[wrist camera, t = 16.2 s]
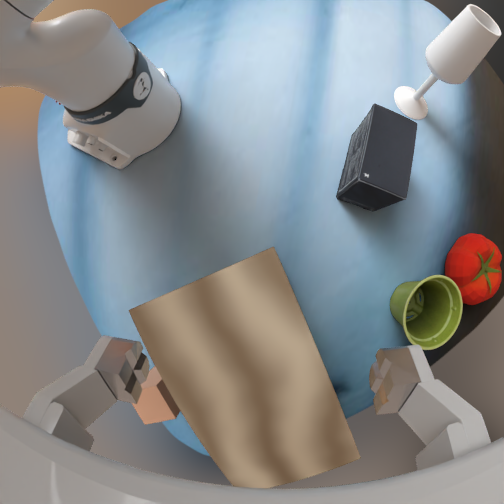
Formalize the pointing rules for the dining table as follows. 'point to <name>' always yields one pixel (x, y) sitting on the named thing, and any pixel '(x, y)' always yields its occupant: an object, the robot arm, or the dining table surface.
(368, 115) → the small box
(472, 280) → the tomato
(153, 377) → the terracotta block
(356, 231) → the dining table surface
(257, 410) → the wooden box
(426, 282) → the plant pot
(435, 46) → the champagne flute
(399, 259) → the dining table surface
